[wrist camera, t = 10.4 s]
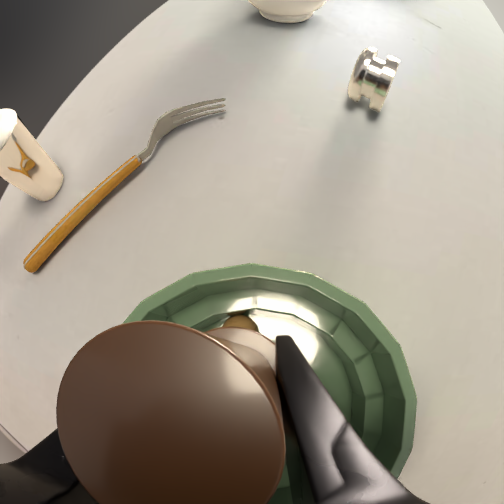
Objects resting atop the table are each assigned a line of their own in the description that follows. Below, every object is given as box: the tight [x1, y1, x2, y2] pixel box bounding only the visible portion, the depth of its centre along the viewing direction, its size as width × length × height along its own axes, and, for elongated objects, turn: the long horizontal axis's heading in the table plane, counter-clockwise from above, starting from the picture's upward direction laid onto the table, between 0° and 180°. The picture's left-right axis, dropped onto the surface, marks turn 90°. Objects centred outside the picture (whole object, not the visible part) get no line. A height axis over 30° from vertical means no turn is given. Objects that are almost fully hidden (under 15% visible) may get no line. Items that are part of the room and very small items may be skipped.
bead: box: [222, 315, 258, 332], centre depth 16 cm, size 2×2×2 cm
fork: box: [23, 98, 226, 273], centre depth 20 cm, size 2×2×20 cm
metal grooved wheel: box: [348, 47, 400, 112], centre depth 20 cm, size 5×3×5 cm, turn 150°
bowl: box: [123, 263, 417, 504], centre depth 13 cm, size 14×14×6 cm
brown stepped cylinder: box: [56, 320, 286, 504], centre depth 9 cm, size 4×4×12 cm
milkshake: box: [0, 109, 63, 202], centre depth 17 cm, size 4×5×10 cm
